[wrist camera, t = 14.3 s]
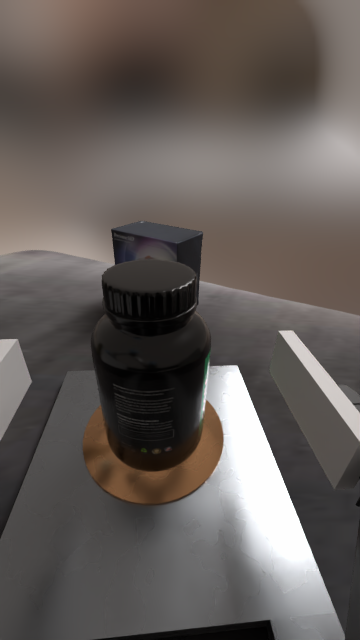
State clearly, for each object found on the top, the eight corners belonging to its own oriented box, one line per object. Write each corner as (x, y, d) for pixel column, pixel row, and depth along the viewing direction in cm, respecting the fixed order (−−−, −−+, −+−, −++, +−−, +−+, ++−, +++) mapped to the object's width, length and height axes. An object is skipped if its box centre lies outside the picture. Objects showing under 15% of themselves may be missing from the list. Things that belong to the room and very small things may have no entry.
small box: (115, 301, 41) (107, 227, 35) (144, 286, 45) (140, 219, 40) (174, 323, 36) (176, 240, 30) (200, 304, 40) (205, 230, 35)
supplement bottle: (221, 428, 20) (244, 273, 14) (151, 500, 16) (141, 321, 10) (158, 382, 24) (154, 246, 18) (88, 430, 20) (53, 272, 14)
